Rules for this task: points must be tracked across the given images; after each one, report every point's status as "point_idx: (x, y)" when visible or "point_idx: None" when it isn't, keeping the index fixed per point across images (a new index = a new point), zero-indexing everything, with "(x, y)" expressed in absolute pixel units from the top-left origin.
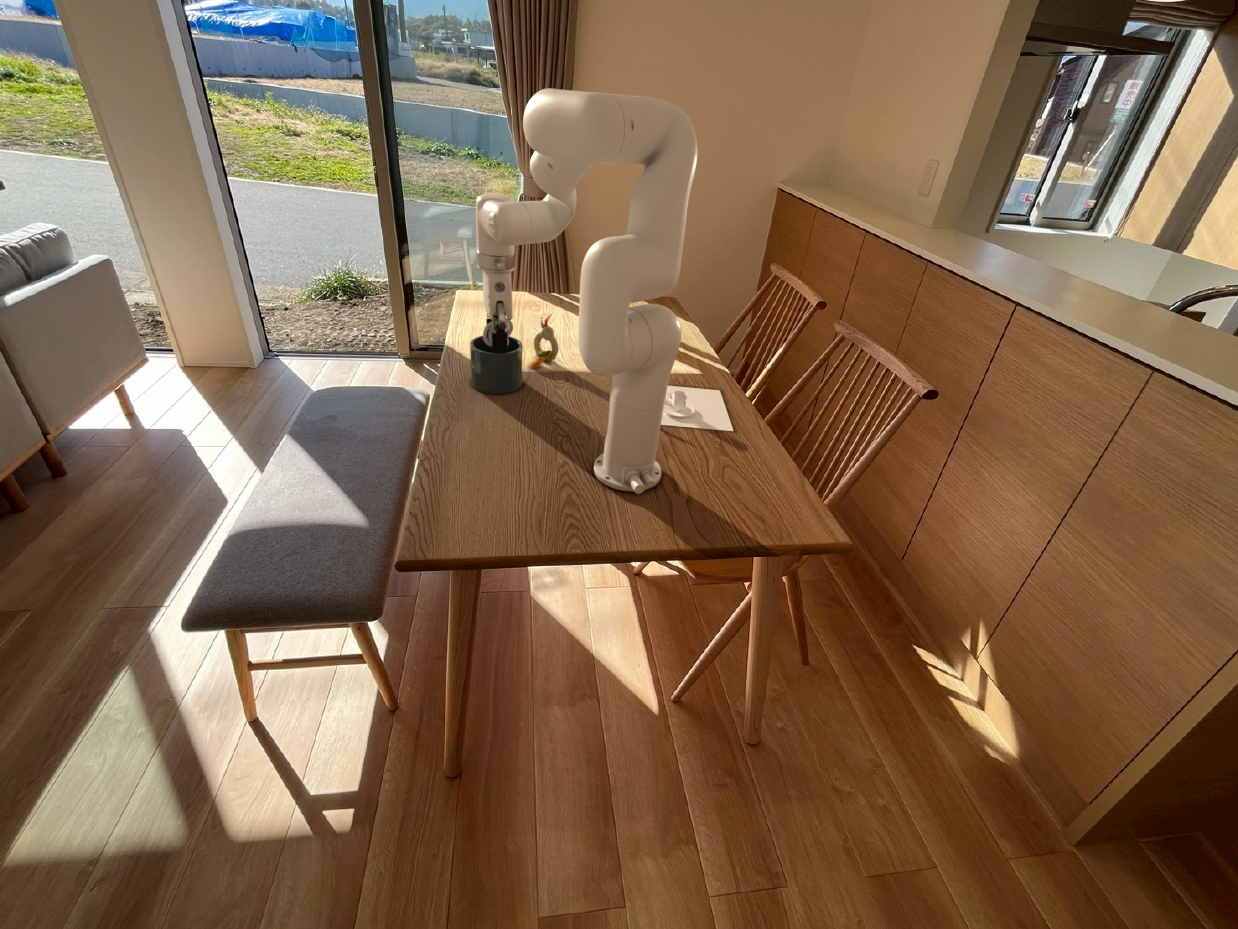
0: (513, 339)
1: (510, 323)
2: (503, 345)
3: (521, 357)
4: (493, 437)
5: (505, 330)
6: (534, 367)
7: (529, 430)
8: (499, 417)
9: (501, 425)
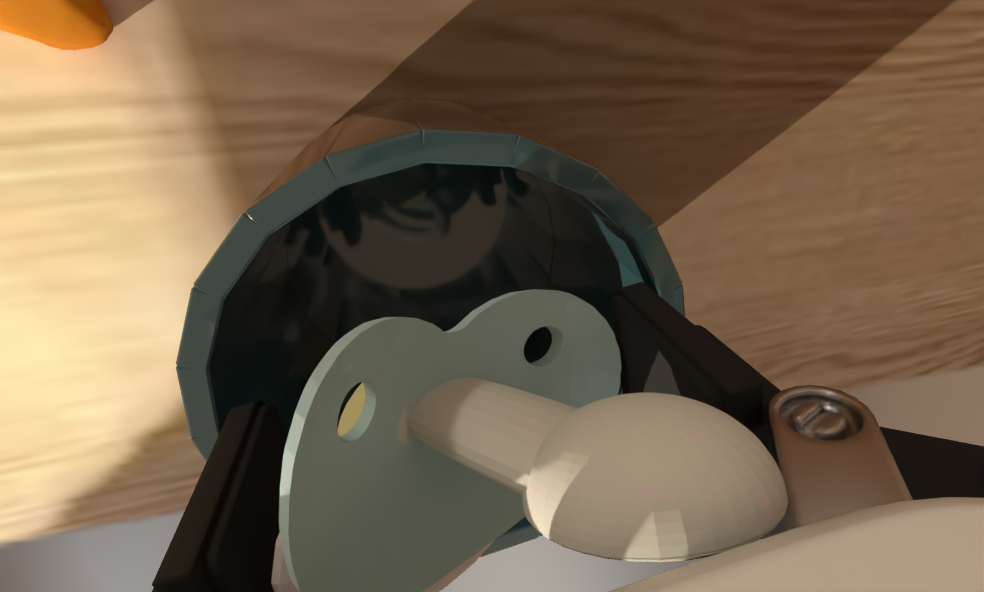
0: (257, 254)
1: (316, 411)
2: (707, 334)
3: (485, 121)
4: (941, 188)
5: (871, 429)
6: (103, 5)
7: (935, 20)
8: (791, 185)
9: (860, 166)
